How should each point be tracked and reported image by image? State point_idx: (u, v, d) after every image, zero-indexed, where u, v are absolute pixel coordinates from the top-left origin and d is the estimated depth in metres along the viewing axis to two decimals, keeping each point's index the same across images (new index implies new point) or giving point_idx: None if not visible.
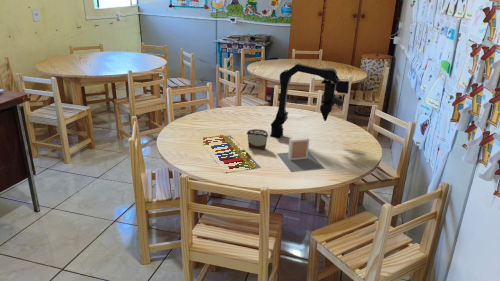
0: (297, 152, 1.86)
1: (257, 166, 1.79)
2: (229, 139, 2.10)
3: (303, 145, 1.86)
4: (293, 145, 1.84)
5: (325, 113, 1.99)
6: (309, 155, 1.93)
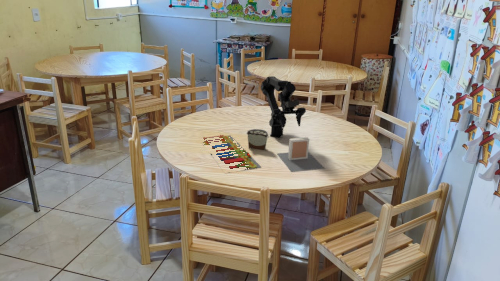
0: (297, 152, 1.86)
1: (258, 166, 1.80)
2: (229, 139, 2.10)
3: (303, 145, 1.86)
4: (293, 145, 1.84)
5: (279, 119, 1.96)
6: (309, 155, 1.93)
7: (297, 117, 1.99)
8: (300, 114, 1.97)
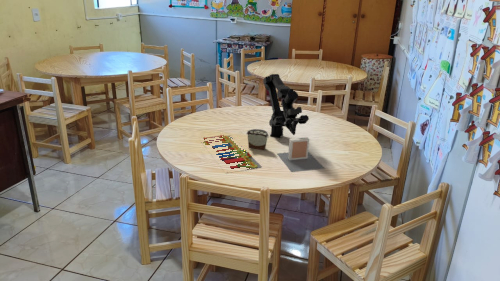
0: (297, 152, 1.86)
1: (258, 166, 1.80)
2: (229, 139, 2.10)
3: (303, 145, 1.86)
4: (293, 145, 1.84)
5: (289, 127, 1.93)
6: (309, 155, 1.93)
7: (292, 125, 1.94)
8: (295, 122, 1.92)
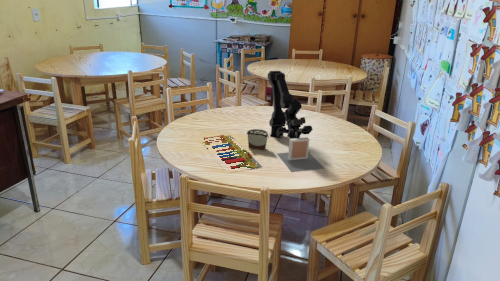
0: (297, 152, 1.86)
1: (259, 166, 1.80)
2: (230, 139, 2.10)
3: (303, 145, 1.86)
4: (293, 145, 1.84)
5: (293, 137, 1.89)
6: (309, 155, 1.93)
7: None
8: (299, 133, 1.89)
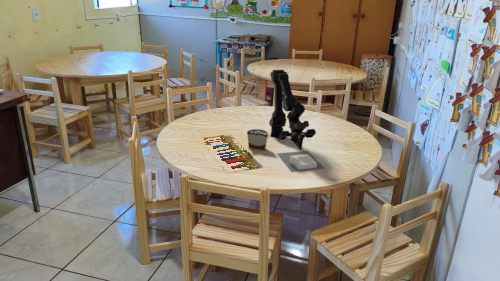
0: None
1: (259, 166, 1.80)
2: (230, 139, 2.10)
3: None
4: None
5: (296, 141, 1.86)
6: (309, 155, 1.93)
7: None
8: (302, 137, 1.85)
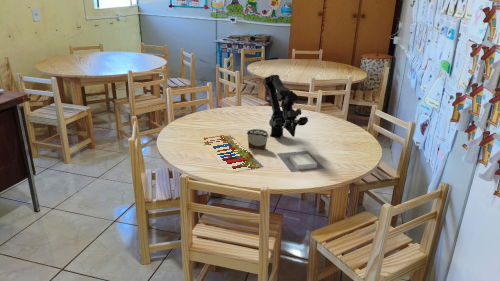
0: None
1: (260, 165, 1.80)
2: (230, 139, 2.10)
3: None
4: None
5: (289, 128, 1.94)
6: (309, 155, 1.93)
7: None
8: (295, 124, 1.93)
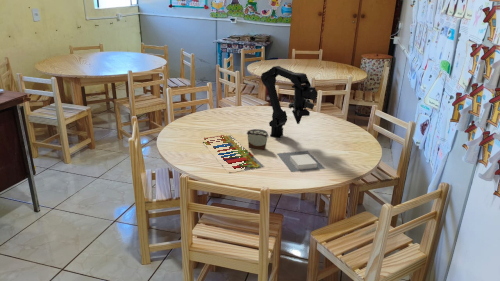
0: None
1: (261, 165, 1.80)
2: (230, 139, 2.10)
3: None
4: None
5: (299, 116, 2.01)
6: (309, 155, 1.93)
7: None
8: None
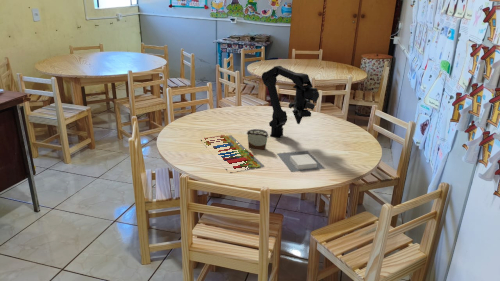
0: None
1: (261, 165, 1.80)
2: (230, 139, 2.10)
3: None
4: None
5: (299, 116, 2.01)
6: (309, 155, 1.93)
7: None
8: None
